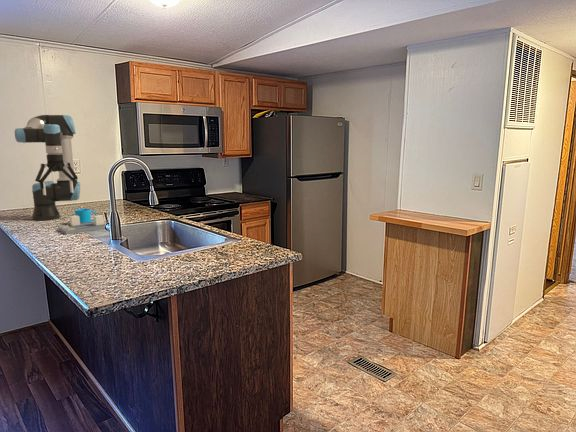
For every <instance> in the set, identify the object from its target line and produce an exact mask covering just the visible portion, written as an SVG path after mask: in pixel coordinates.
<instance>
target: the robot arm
mask: <svg viewBox="0 0 576 432" xmlns="http://www.w3.org/2000/svg"><path fill="white" fill-rule="evenodd" d="M74 135H76V127H75V123H74V120H73V117H72V116H71V115H66V114H40V115H37V116H34V117H32V118H30V119H29V120H28V121H27V123H26V125H25V126H24V127H23V128H22V127H20V128H15V129H14V138H15V141H16V142H17V143H23V144H26V143H30V144H31V143H42V144H43V143H45V144H44V145H45V153H46V160H47V161H46V162H47V163H40V168H39V170H38V172H37V175H36V177H35V180H34V181H35V182H36V183H34V184H32V186H31V188H32V189H31V190H32V191H31V193H32V199H33V206H34V207H33V211H32V215H31V217H32V221H50V220H55V219H60V218H61V215H60V212H59V209H58V208H57V206H56V205H57V204H56V202H72V201H73V202H74V201H78V200H79V199H80V197H81V196H80V195H81V182H79V181H78V179H79V178H78V176H77V174H76V173H75V170H74V169H75V168H74V160H73V148H72V139H73V138H74ZM46 167H47V170H46V172H45V173H44V170H45V168H46ZM52 172H55V173H56V172H58V179H56V182H55V183H54V181H53V180H47V181H45V180H46V179H47V178H48V177H49V175H50V174H51V173H52ZM43 173H44V174H43Z"/></svg>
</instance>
